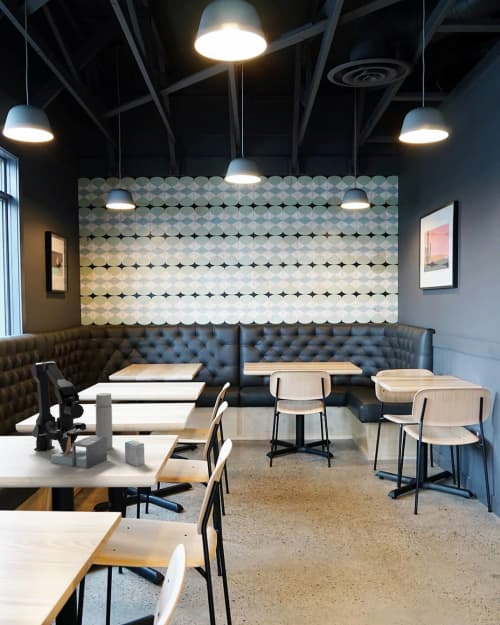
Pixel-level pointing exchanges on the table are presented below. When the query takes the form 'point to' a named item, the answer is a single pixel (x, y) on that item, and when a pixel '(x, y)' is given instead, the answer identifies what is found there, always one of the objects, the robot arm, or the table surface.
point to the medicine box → (134, 453)
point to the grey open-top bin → (91, 450)
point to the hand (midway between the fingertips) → (66, 450)
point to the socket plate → (70, 458)
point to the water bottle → (104, 417)
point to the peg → (68, 446)
